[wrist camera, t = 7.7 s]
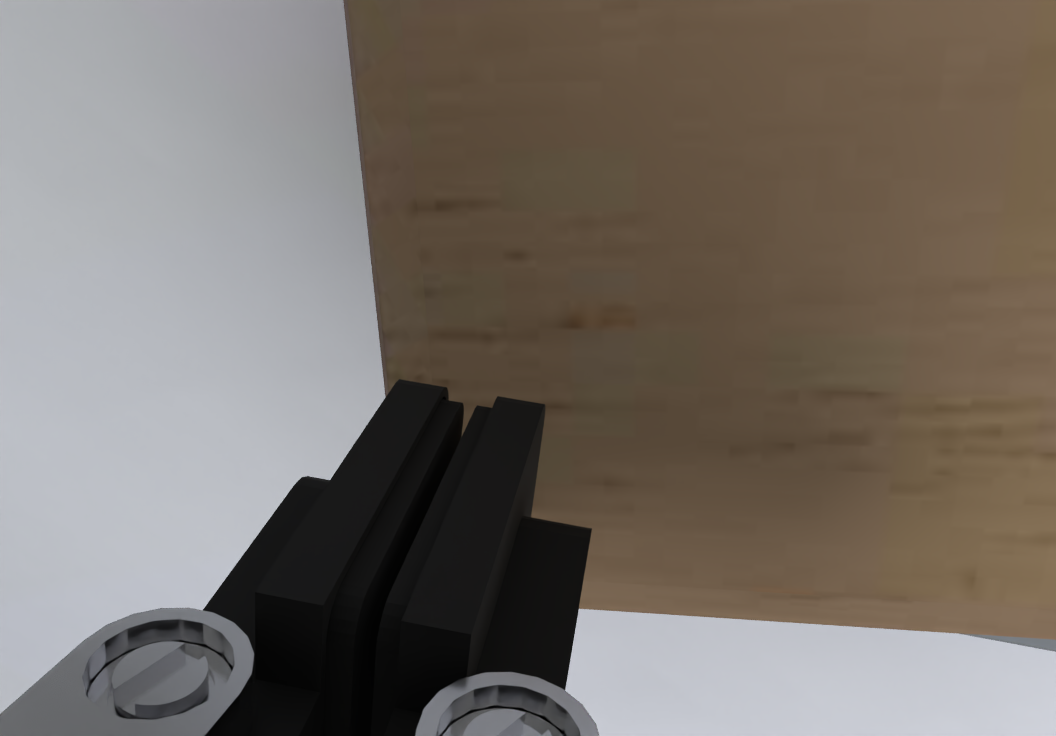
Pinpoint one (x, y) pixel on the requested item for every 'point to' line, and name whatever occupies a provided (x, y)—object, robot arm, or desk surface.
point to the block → (740, 287)
